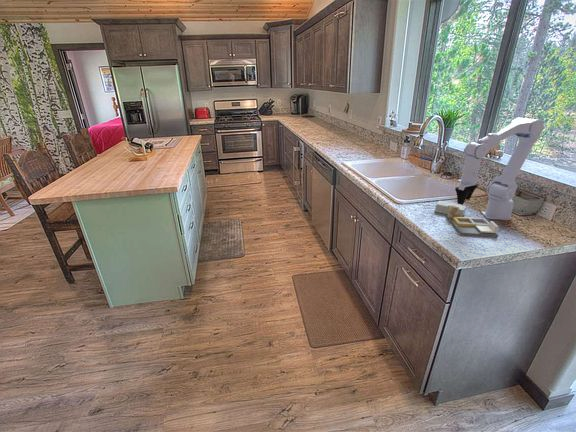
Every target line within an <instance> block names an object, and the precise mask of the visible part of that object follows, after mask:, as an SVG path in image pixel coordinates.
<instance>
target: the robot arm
mask: <svg viewBox="0 0 576 432" xmlns="http://www.w3.org/2000/svg"><path fill="white" fill-rule="evenodd" d="M544 130H545V124H544V121H543V120H542V119H539V118H538V119H536V118H526V117H521V116H519V117H516V118H515V119H513V120H511V121H510V124H508V125H507V126H505V127H504V128H502V129H500V130H499V131H498V132H496V133H495V132H489V133H487V135H485V136H484V137H482V138H479V139H478V140H477V141H471V142H469V143H468V144H467V145H465V147H464V148H463V155H464V164H463V169H462V173H461V177H460V179H458V180H457V183H459V185H458V186H456V187H455V188H454V189H455V192H456V200H457V203H456V204H457V205H462V206H464V203H466V202H465V201H467V200H468V201H470V200H471V198H472V196H473V193H474V192H475V190H476V189H477V188H478V187H479V184H478V183H477V180H478V175H479V171H480V167H481V163H482V159H483V158H484V157H486V155H487V153H489V152H490V151H491V150H492V149H494V148H496V147H498V146H500V144H501V143H502V141H503V140H505V139H507V138H509V137H511V136H513V135H514V136H515V138H516V139H517V141H518V143H517V145H516V147H515V149H514V151H513V153H512V154H511V156H510V157H509V160H508V162H507V164H506V165H505V167H504V169H503V171H502V173H501V174H500V176H497V177H495V178H493V180H492V181H491V182H490V184H489V185H487V188H486V192H487V194H488V202H487V205H486V207H485V211H481V212H480V213H481V214H482V215H484V217H485V218H487V219H488V220H503V221H504V220H505V221H510V220H511V216H512V213H513V210H514V207H515V205H514V200H513V198H515V195H516V192H517V188H518V184H517V183H516V181H515V179H516V177H517V176H518V174H519V172H520V170H521V169H522V167H523V165H524V163H525V162H526V159H527V158H528V156H529V155H530V153H531V151H532V149H533V147H534V145H535V144H536V142H537V141H538V139H539V138H540V136H541V135H542V133H543V131H544Z"/></svg>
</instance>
